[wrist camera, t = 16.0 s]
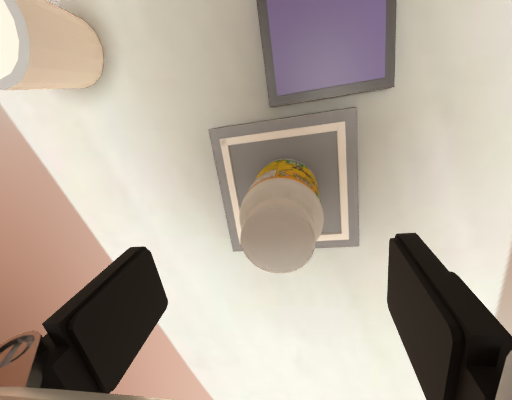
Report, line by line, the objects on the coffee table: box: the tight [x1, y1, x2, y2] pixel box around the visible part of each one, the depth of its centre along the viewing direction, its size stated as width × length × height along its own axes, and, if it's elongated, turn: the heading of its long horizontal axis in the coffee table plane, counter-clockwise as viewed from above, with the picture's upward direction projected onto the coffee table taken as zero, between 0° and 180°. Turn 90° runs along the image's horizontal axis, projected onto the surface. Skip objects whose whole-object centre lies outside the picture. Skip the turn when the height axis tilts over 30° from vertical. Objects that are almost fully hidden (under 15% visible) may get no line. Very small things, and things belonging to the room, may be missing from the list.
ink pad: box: [257, 0, 396, 107], centre depth 17 cm, size 10×9×1 cm
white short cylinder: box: [0, 0, 104, 90], centre depth 19 cm, size 7×7×7 cm
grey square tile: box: [209, 107, 359, 251], centre depth 22 cm, size 12×12×1 cm
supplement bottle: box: [239, 159, 324, 273], centre depth 18 cm, size 5×5×10 cm
